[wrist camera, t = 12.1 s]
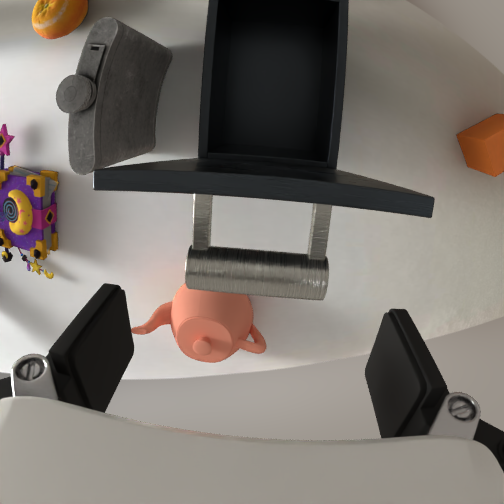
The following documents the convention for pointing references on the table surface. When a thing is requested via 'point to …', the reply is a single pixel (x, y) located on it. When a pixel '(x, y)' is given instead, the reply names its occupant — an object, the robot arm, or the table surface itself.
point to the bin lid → (264, 187)
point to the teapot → (208, 324)
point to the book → (27, 209)
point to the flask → (113, 96)
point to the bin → (274, 81)
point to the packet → (484, 145)
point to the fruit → (58, 17)
